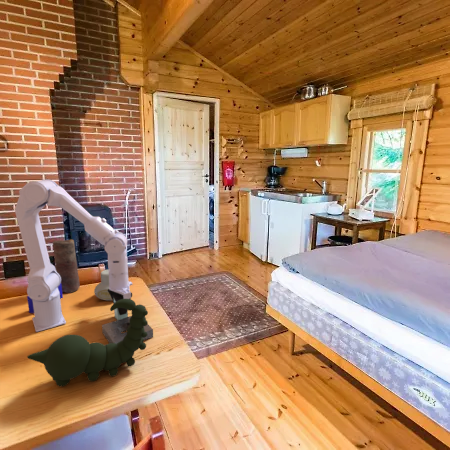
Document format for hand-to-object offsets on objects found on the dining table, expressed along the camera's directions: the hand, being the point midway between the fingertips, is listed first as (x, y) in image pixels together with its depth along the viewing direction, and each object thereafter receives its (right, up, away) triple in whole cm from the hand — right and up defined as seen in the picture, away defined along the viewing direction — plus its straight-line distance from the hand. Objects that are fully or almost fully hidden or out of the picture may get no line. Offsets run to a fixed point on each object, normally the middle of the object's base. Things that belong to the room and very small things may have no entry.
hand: (121, 311), depth 96 cm
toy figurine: (+3, -8, -25) cm, 26 cm away
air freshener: (-9, +1, +15) cm, 17 cm away
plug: (0, -2, 0) cm, 2 cm away
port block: (+5, -4, -9) cm, 11 cm away
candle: (-27, +2, +20) cm, 34 cm away
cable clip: (-29, 0, +8) cm, 31 cm away
